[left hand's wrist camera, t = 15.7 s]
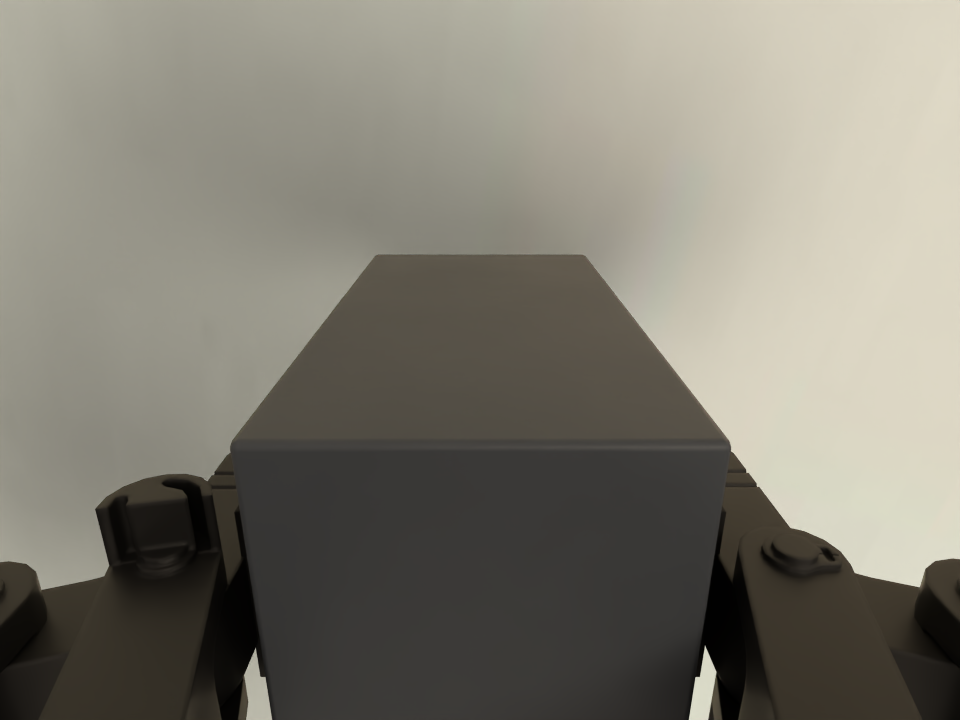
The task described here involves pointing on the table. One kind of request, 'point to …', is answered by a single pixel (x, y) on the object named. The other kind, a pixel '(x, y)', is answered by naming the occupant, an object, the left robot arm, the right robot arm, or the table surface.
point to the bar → (480, 503)
